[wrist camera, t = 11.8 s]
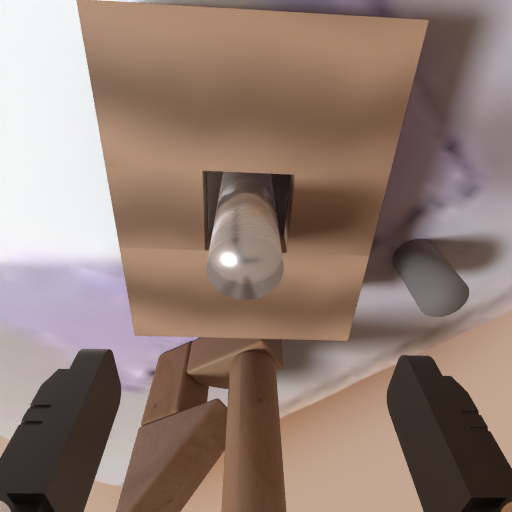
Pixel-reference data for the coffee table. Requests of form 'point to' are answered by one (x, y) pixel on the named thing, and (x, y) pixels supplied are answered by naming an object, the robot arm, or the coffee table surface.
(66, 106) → the coffee table surface
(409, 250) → the short pin
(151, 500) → the brown angled frame
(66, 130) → the coffee table surface
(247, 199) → the long pin
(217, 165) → the brown block with hole
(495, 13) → the coffee table surface
